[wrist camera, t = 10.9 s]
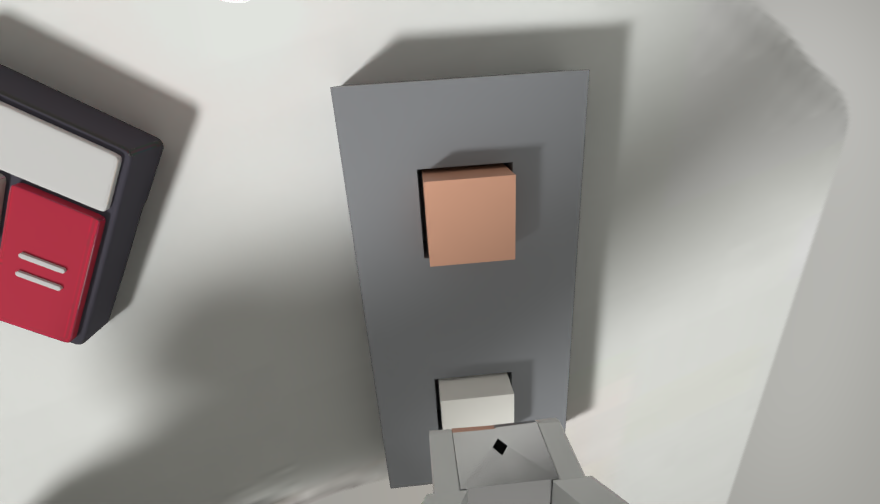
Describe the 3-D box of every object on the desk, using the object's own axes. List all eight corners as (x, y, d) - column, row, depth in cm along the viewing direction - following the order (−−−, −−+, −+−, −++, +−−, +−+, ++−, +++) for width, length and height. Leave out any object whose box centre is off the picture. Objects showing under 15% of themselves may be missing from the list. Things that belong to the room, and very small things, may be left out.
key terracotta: (501, 235, 29) (515, 259, 25) (427, 242, 28) (430, 266, 25) (500, 161, 27) (515, 175, 23) (421, 167, 27) (423, 182, 23)
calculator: (-124, 289, 26) (-117, 46, 20) (-53, 257, 30) (-32, 47, 24) (74, 354, 28) (125, 155, 23) (115, 318, 32) (167, 140, 27)
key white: (502, 409, 35) (513, 448, 31) (440, 415, 34) (445, 456, 31) (501, 357, 33) (514, 393, 29) (436, 364, 32) (440, 401, 29)
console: (547, 431, 38) (562, 469, 35) (392, 448, 38) (390, 488, 34) (564, 70, 27) (589, 69, 23) (340, 85, 26) (330, 87, 23)
